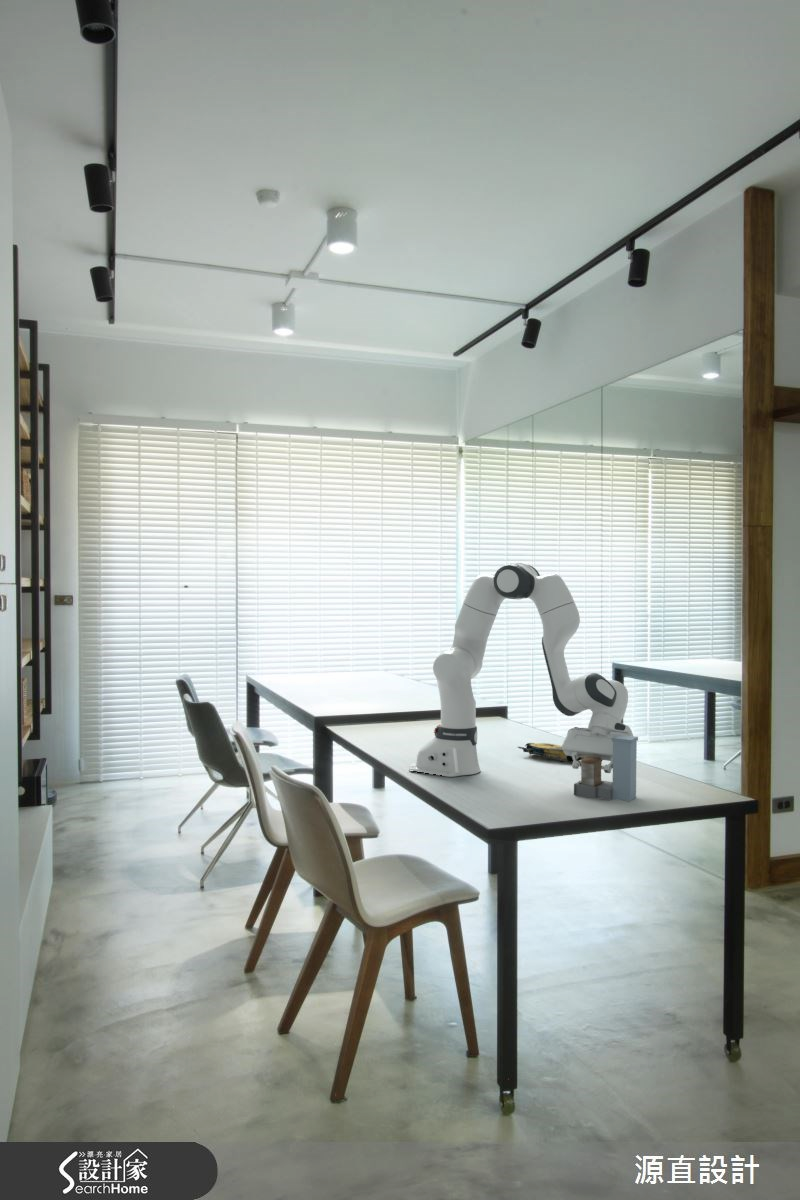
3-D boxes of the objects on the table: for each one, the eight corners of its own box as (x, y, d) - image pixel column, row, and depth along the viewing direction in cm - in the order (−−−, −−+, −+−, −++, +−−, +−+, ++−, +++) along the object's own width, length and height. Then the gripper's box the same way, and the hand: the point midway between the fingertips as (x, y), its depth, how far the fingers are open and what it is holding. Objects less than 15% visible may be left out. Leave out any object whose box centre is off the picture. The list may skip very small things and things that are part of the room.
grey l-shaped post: (573, 794, 238) (574, 734, 237) (585, 788, 245) (585, 730, 244) (629, 803, 229) (629, 740, 228) (639, 796, 236) (639, 735, 236)
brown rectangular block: (580, 794, 238) (580, 759, 238) (587, 790, 242) (587, 756, 242) (594, 796, 236) (594, 761, 235) (601, 792, 240) (601, 757, 240)
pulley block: (589, 750, 268) (516, 737, 290) (587, 769, 267) (514, 754, 290) (614, 751, 277) (542, 739, 300) (612, 769, 277) (540, 755, 299)
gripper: (566, 720, 250) (553, 758, 242) (634, 727, 239) (623, 767, 231) (572, 733, 254) (559, 771, 246) (639, 740, 243) (628, 780, 235)
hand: (590, 769), depth 238 cm, fingers open, 8 cm apart
